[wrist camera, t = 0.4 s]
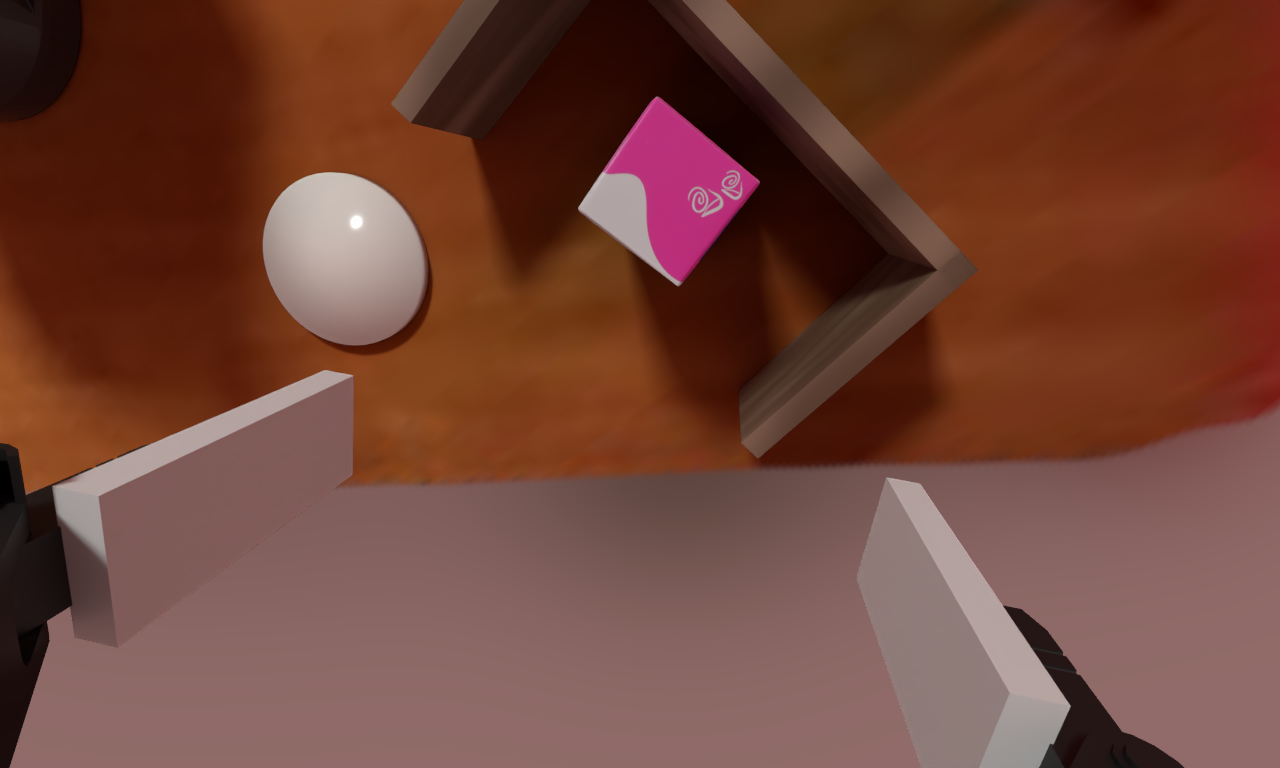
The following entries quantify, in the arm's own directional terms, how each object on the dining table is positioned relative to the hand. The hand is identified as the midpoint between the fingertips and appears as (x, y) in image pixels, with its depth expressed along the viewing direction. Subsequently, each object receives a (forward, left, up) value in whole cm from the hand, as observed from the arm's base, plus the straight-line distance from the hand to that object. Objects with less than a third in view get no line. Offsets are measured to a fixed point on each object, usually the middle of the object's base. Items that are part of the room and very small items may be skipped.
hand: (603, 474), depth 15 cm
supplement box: (-4, +5, -25) cm, 26 cm away
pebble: (-17, -13, -25) cm, 33 cm away
